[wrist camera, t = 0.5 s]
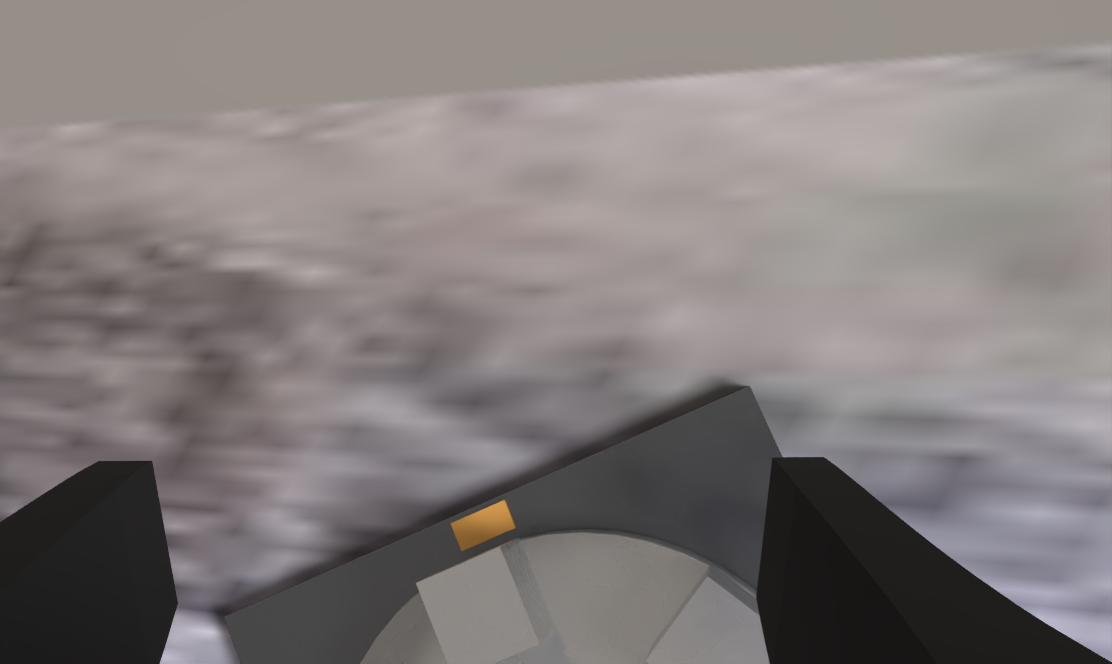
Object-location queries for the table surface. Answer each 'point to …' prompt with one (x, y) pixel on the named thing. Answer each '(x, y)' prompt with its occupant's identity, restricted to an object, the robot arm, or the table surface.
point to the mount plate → (544, 530)
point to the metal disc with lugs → (577, 607)
